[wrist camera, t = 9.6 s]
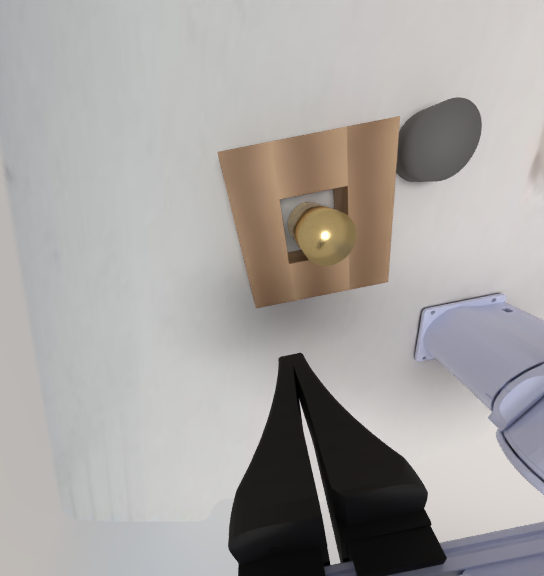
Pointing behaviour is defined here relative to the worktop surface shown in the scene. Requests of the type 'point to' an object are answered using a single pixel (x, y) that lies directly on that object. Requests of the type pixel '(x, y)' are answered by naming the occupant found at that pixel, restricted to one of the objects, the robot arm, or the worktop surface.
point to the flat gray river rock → (438, 141)
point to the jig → (308, 179)
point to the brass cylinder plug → (322, 233)
